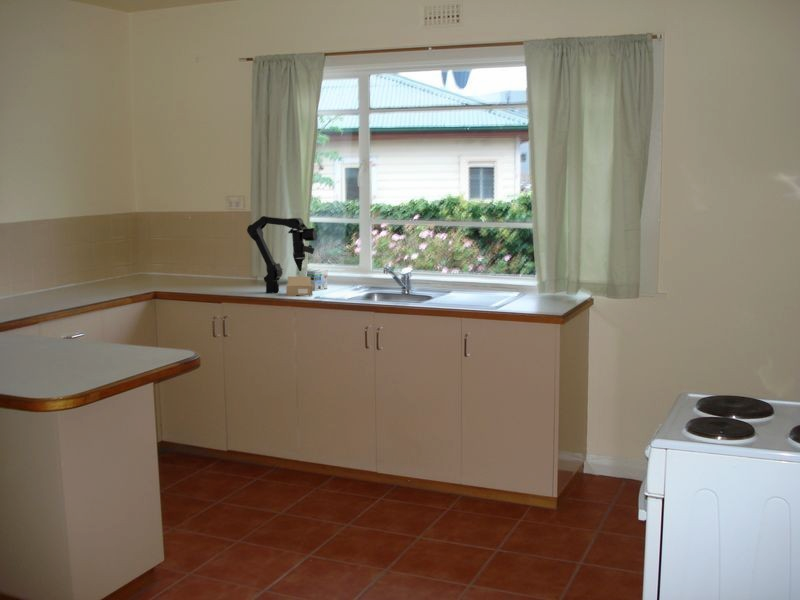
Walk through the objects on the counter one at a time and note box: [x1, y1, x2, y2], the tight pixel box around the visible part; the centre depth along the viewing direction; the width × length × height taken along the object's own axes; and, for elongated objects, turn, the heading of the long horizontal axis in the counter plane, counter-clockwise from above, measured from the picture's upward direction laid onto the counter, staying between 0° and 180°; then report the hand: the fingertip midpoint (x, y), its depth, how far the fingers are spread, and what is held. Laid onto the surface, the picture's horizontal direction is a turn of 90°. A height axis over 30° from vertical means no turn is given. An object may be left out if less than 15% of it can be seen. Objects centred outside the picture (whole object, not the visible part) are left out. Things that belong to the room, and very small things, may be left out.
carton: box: [286, 283, 313, 297], centre depth 469 cm, size 14×11×5 cm
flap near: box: [287, 276, 311, 286], centre depth 463 cm, size 12×5×1 cm
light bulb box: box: [306, 269, 328, 291], centre depth 491 cm, size 11×7×11 cm, turn 143°
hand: (300, 270), depth 469 cm, fingers open, 9 cm apart
